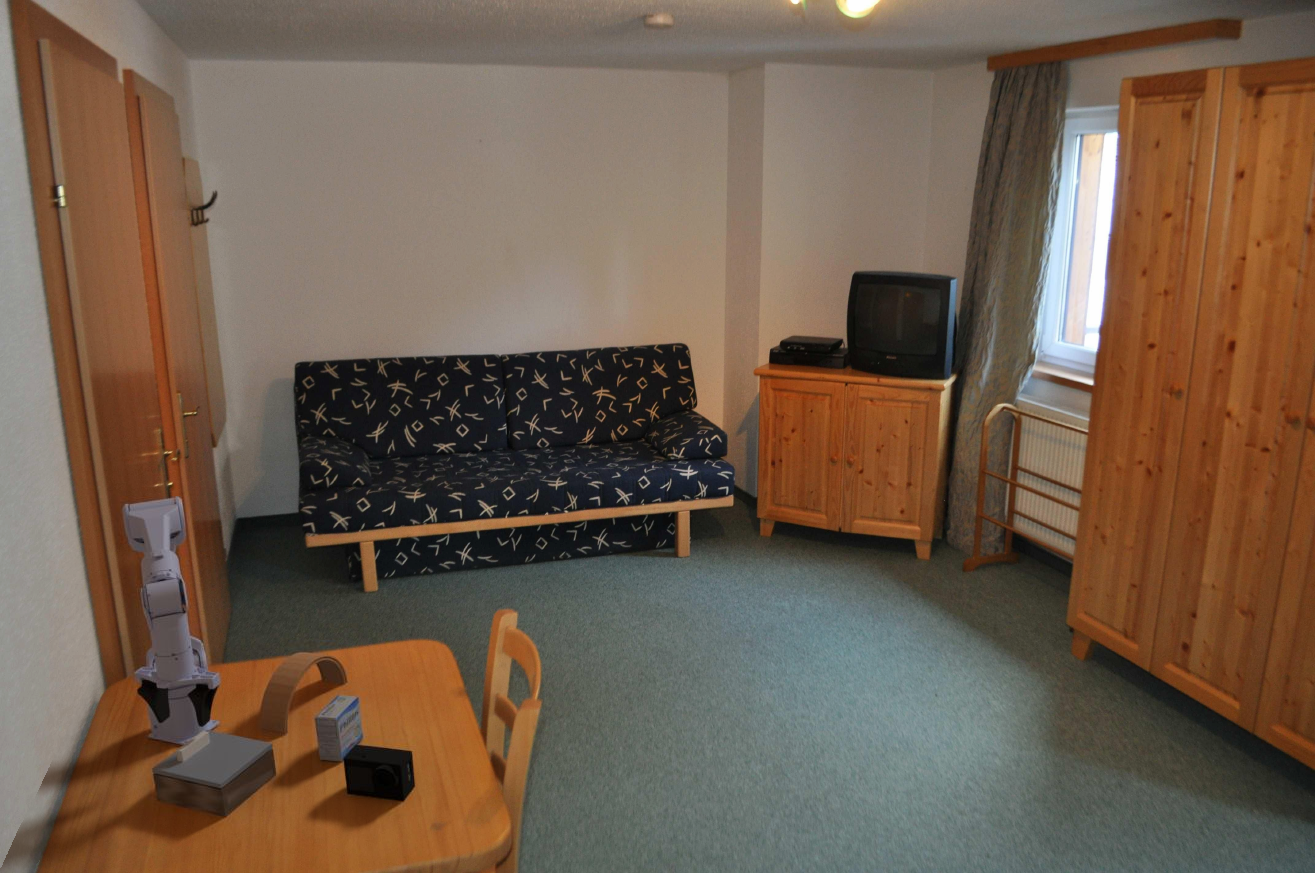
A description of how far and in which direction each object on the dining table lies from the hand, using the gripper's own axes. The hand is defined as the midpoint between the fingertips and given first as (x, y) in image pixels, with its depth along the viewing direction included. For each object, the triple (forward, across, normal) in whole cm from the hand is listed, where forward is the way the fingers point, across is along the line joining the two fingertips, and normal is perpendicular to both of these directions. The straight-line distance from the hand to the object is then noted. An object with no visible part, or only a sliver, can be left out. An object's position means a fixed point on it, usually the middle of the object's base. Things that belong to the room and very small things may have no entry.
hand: (184, 721), depth 165 cm
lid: (+5, +7, -3) cm, 9 cm away
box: (+10, +6, -3) cm, 12 cm away
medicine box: (+11, +22, +11) cm, 27 cm away
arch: (+11, +8, +24) cm, 27 cm away
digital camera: (+11, +34, 0) cm, 36 cm away
